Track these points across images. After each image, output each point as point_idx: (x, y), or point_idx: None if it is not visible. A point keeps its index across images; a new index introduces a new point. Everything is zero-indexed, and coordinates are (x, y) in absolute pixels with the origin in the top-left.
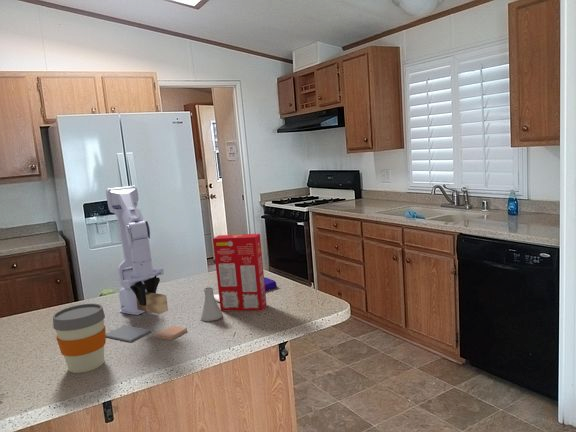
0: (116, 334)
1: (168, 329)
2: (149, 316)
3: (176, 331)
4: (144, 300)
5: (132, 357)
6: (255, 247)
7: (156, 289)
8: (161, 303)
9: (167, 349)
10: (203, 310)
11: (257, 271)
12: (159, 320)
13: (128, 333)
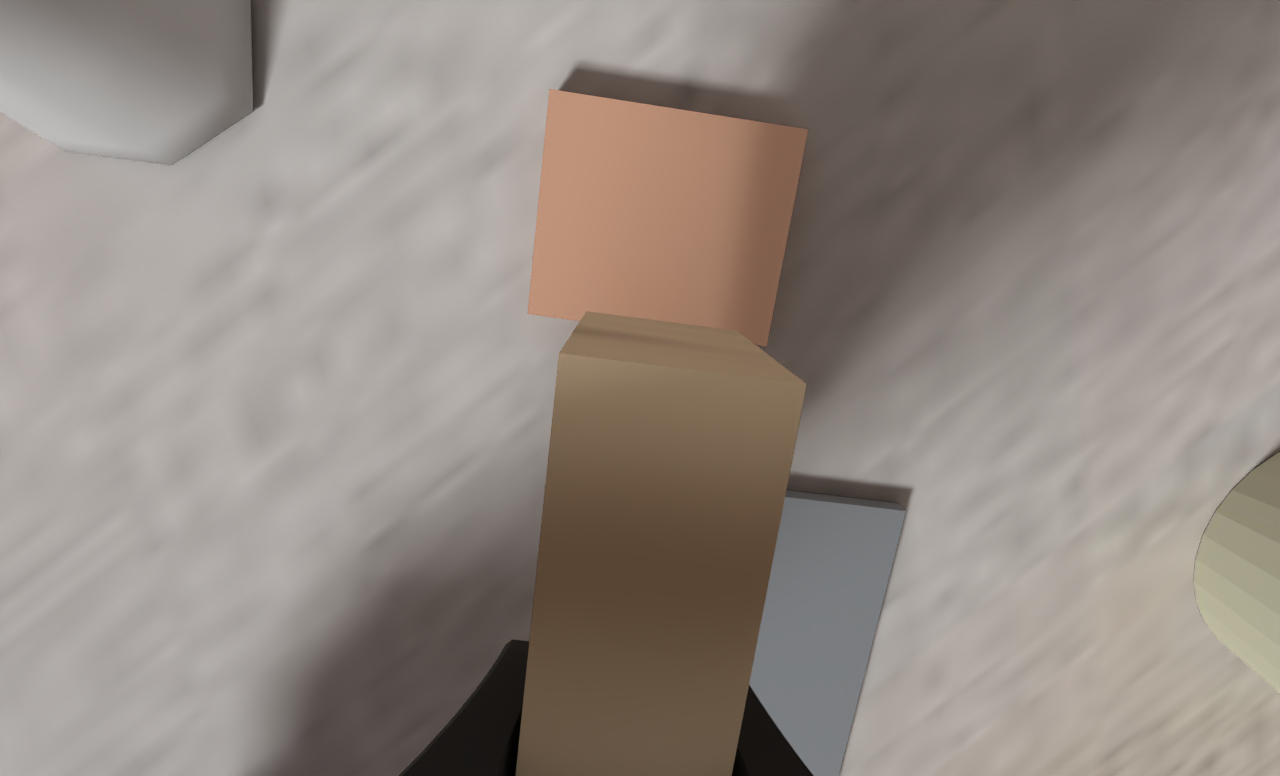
0: (807, 715)
1: (631, 286)
2: (343, 730)
3: (662, 152)
4: (763, 714)
5: (1193, 260)
6: None
7: (406, 772)
8: (724, 352)
9: (1009, 11)
10: (129, 46)
11: None
12: (395, 577)
13: (770, 631)
